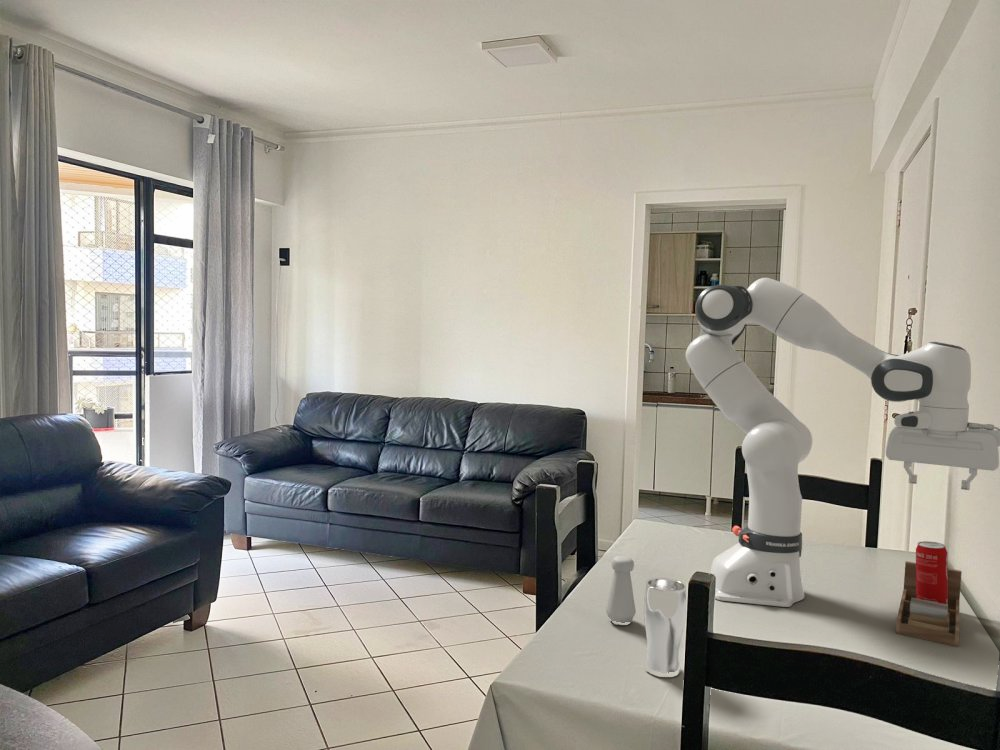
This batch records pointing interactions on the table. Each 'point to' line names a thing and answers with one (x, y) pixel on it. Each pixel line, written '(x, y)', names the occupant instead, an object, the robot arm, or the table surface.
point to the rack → (910, 592)
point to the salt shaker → (621, 591)
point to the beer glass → (664, 622)
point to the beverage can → (932, 572)
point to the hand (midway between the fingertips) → (938, 486)
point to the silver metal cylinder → (929, 615)
